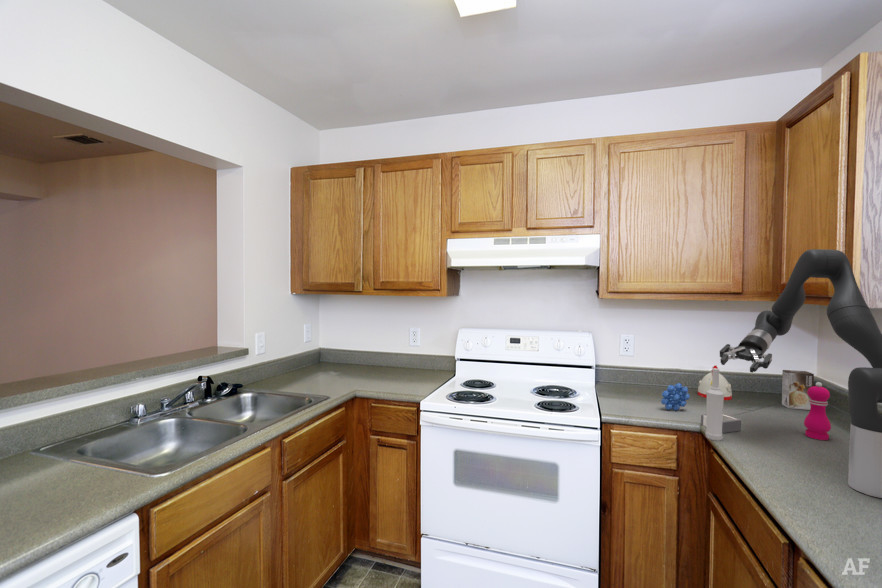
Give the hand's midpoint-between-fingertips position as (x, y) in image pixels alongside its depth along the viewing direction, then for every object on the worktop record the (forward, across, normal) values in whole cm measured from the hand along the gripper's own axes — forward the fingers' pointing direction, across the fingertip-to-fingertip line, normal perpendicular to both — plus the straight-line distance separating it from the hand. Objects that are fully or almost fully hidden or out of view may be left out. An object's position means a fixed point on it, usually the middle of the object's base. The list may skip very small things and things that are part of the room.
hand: (736, 366), depth 140 cm
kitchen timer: (-42, -25, +53) cm, 72 cm away
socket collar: (-1, -6, +31) cm, 31 cm away
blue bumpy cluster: (-7, -26, +37) cm, 45 cm away
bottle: (+12, -3, +25) cm, 28 cm away
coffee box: (-53, +4, +54) cm, 75 cm away
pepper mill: (-19, +18, +36) cm, 45 cm away
